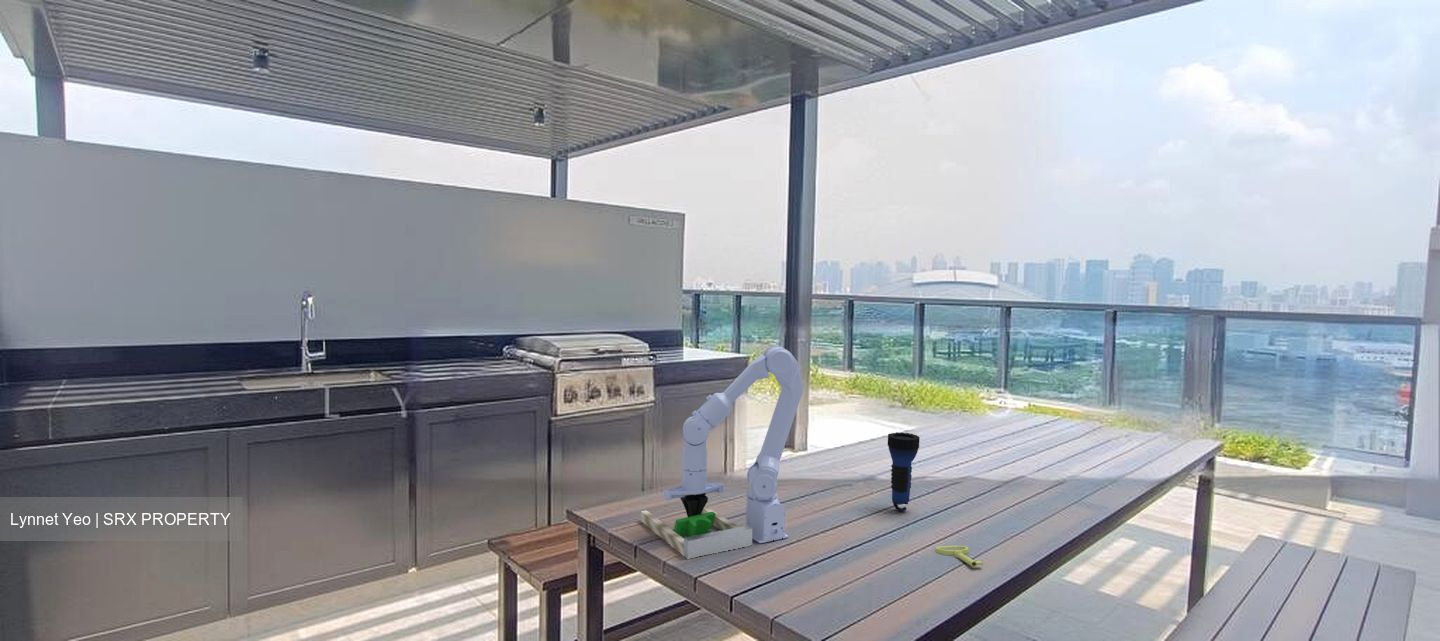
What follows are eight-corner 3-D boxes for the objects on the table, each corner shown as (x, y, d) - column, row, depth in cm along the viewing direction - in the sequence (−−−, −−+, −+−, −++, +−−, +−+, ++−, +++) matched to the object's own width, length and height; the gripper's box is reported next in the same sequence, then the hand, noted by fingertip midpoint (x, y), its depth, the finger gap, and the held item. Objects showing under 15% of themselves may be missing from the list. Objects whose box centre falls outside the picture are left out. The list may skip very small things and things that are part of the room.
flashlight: (917, 518, 163) (919, 440, 162) (884, 514, 165) (886, 437, 165) (918, 508, 170) (920, 433, 170) (887, 505, 173) (889, 431, 172)
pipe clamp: (680, 545, 144) (683, 528, 143) (672, 536, 146) (675, 519, 145) (718, 534, 150) (721, 519, 149) (710, 526, 153) (713, 510, 151)
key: (974, 573, 132) (974, 563, 132) (930, 551, 143) (930, 542, 143) (999, 567, 135) (999, 557, 135) (955, 546, 146) (955, 537, 146)
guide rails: (747, 542, 145) (747, 532, 145) (683, 556, 138) (683, 544, 137) (698, 511, 166) (698, 501, 166) (640, 521, 158) (640, 511, 158)
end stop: (752, 546, 144) (752, 528, 143) (687, 559, 136) (688, 541, 136) (747, 542, 145) (747, 525, 145) (683, 556, 138) (683, 537, 137)
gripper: (713, 461, 157) (712, 516, 158) (659, 467, 150) (657, 525, 151) (728, 468, 151) (726, 525, 152) (671, 475, 144) (670, 535, 144)
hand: (693, 526), depth 151 cm, fingers closed, pressing on pipe clamp
